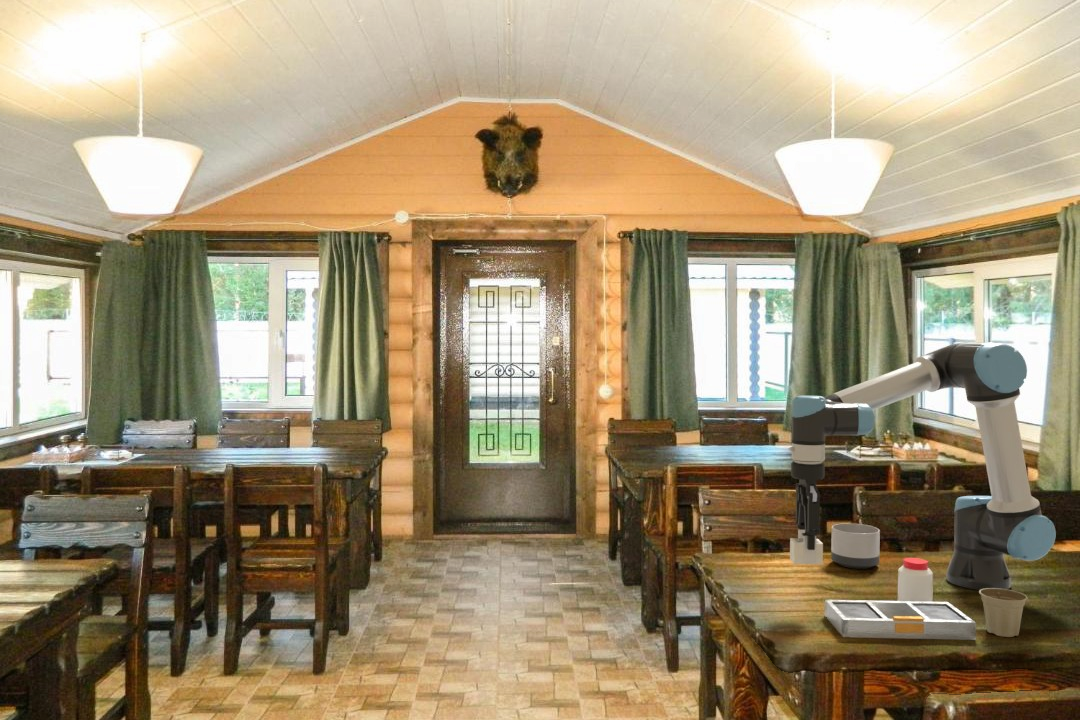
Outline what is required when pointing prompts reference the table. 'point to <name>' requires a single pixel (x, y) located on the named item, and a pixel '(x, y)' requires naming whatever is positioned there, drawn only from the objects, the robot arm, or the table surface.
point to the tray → (899, 619)
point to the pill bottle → (915, 581)
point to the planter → (855, 545)
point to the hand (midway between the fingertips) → (806, 559)
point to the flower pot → (1003, 610)
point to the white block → (798, 551)
